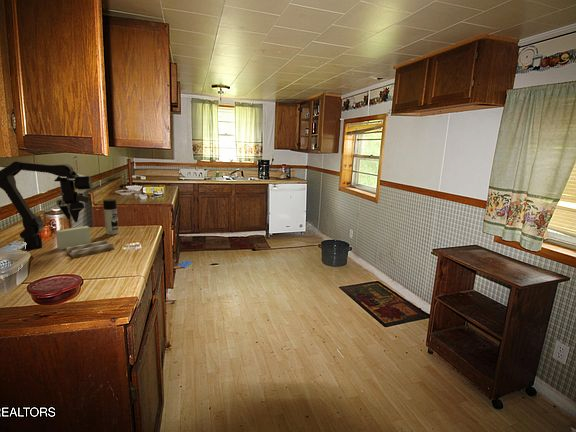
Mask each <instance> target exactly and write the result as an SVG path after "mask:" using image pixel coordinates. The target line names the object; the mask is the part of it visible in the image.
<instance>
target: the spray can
mask: <svg viewBox="0 0 576 432" xmlns="http://www.w3.org/2000/svg"><path fill="white" fill-rule="evenodd" d="M102 203H103V215H104V225H105V234H106V235H109V236H111V235H113V236H114V235H118V234H120V233H119V232H120V230H119V218H118V208H117V200H116V199H109V198H108V199H104V200H103V201H102Z"/></svg>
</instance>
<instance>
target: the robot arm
mask: <svg viewBox="0 0 576 432" xmlns="http://www.w3.org/2000/svg"><path fill="white" fill-rule="evenodd" d="M21 171H26V172H38V173H47V174H51V175H54V176H57V177H56V178H55V179H54V182H59V185H60V186H59V187H60V192H59V194H60V195H61V198H60V199H57V200H56V206H58V208H59V210H60V211H61V212H62V213H63V215H64V216H65V218H66V219H67V220H71V219H72V221H73V222H74V223H78V221H79V217H80V212H81V211H82V210H84V209H85V204H88V203H89V201H90V197H89V196H86V195H84V193H80V192H77V191H76V189H77V190H78V191H80V190H81V191H84V190H86V191H87V190H92V189H93V181H92V178H91V176H90V175H83V176H82V175H81V176H80V175H78V173H76V171H75V170H74V168H73V166H72V165H71V164H67V163H66V164H65V163H64V164H45V163H37V162H27V161H21V160H17V161H13V162H12V163H10V164H9V165H7V166H5V167H4V168H2V169H1V170H0V189H1V190H3V191H4V193H5V194H6V195H7V197H8V198H9V200H10V201H11V203H12V205H13V207H14V208H15V210H16V211H17V213H18V214H19V216H20V217H21V220H22V225H23V228H24V229H23V230H22V232H20V233H19V237H20V238H21V239H22V242H23V241H24V242H26V243H27V245H26V250H25V251H30V250H36V249H41V248H43V242H42V241H43V240H42V239H43V238H42V237H41V236H40V233H41V231H43V229H44V227H45V224H44V223H45V221H44V220H43V219H42V216H41V215H40V214H39V215H35V214H34V213H33V211H32V210H31V208H30V207H29V205H28V204H27V202H26V200H25V199H24V197H23V195H22V194H21V192H20V190H18V188H17V181H16V179H15V176H16V175H18V174H19V173H20V172H21ZM84 203H85V204H84Z"/></svg>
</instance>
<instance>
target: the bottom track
mask: <svg viewBox="0 0 576 432" xmlns="http://www.w3.org/2000/svg"><path fill="white" fill-rule="evenodd" d="M113 250H115V246H114V243H113V242H111V243H109V242H108V240H107V239H106V240H101V241H96V242H91V243H89V244H84V245H79V246H74V247H68V248H66V251H65V253H66V254H67V255H68V256H70V257H72V258H73V259H76V258H81V257H84V256H90V255H94V254H99V253H103V252H108V251H109V252H110V251H113Z"/></svg>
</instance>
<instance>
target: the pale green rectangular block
mask: <svg viewBox="0 0 576 432" xmlns="http://www.w3.org/2000/svg"><path fill="white" fill-rule="evenodd" d="M55 237H56V238H55V239H56V248H57V249H58V250H64V249H67V248H68V247H74V246H79V245H84V244H89V243H92V241H91V240H92V239H91V230H90V226H88V225H84V226H77V227H72V228H65V229H58V230H55Z"/></svg>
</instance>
